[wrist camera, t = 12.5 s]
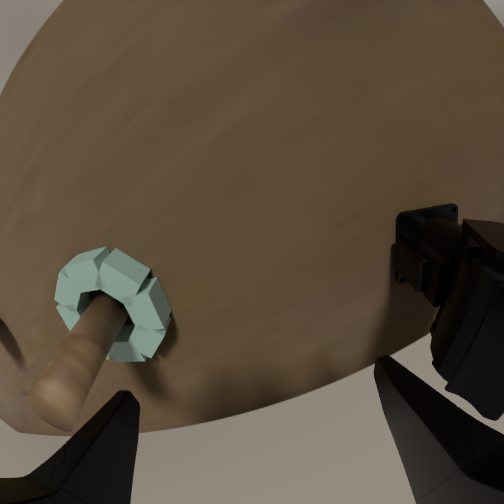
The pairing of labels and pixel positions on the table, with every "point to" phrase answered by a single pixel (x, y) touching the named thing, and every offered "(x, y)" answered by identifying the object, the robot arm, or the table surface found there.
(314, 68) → the table surface
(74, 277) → the ring
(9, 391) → the table surface
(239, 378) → the table surface
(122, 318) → the dowel
